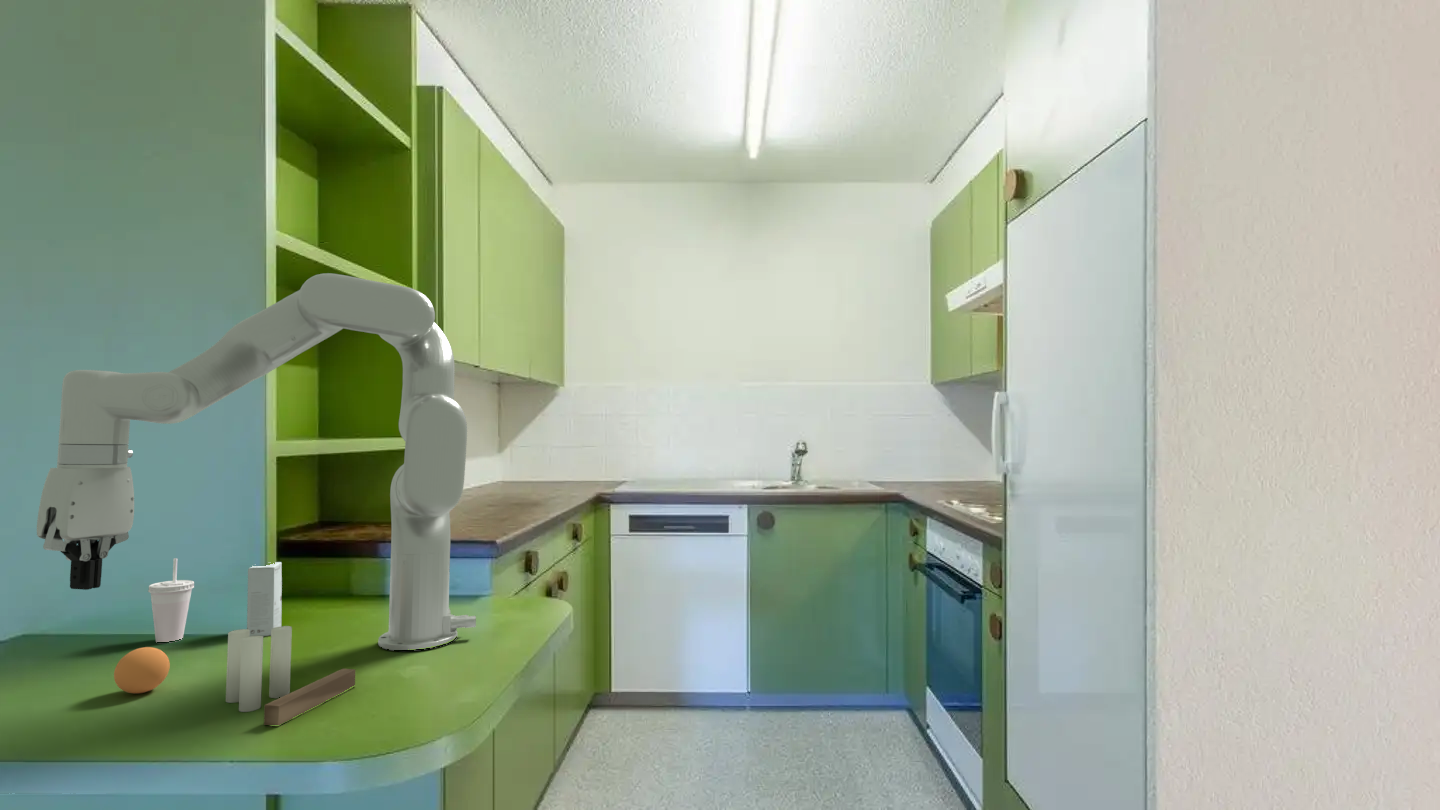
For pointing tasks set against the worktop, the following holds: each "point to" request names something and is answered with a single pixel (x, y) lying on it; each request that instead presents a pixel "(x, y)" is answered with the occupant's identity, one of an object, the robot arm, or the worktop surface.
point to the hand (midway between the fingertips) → (85, 587)
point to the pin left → (250, 673)
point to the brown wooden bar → (308, 697)
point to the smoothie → (170, 606)
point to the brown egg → (141, 670)
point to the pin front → (234, 664)
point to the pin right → (280, 661)
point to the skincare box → (264, 599)
